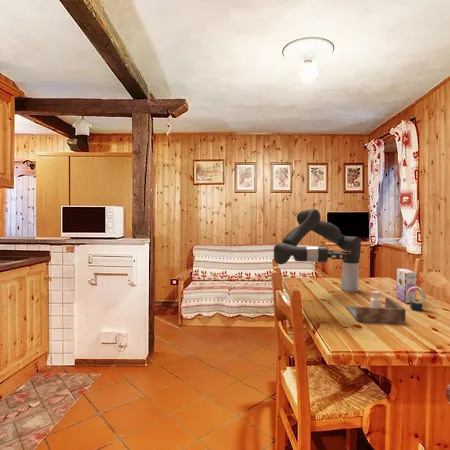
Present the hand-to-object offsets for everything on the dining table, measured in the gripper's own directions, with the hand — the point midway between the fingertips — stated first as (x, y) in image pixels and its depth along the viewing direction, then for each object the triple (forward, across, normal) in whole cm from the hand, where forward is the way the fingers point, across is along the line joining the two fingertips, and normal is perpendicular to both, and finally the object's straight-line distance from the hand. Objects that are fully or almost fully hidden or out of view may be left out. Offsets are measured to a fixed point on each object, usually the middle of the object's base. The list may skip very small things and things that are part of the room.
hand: (352, 254), depth 149 cm
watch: (+34, +13, +28) cm, 46 cm away
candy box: (+35, +29, +28) cm, 54 cm away
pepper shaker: (+11, 0, +27) cm, 29 cm away
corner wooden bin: (+10, -1, +28) cm, 29 cm away
